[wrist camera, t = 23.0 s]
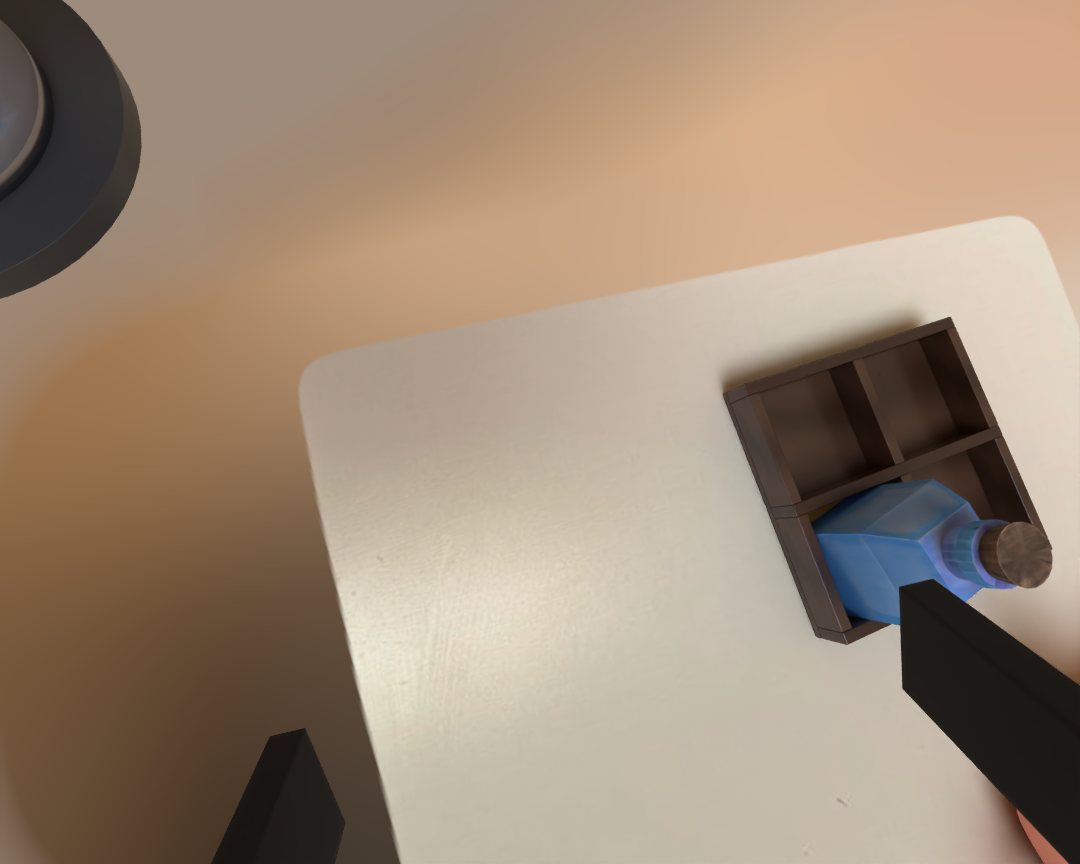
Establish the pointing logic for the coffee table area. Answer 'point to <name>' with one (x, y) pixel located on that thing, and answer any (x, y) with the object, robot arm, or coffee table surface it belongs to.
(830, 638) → the wooden compartment tray
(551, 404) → the coffee table surface
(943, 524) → the perfume bottle
